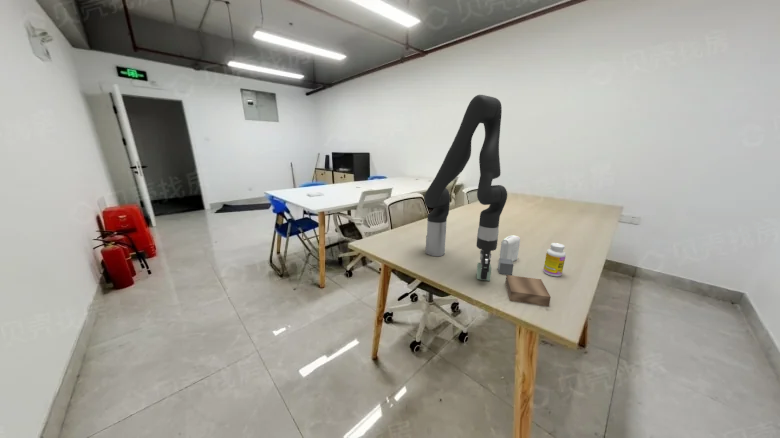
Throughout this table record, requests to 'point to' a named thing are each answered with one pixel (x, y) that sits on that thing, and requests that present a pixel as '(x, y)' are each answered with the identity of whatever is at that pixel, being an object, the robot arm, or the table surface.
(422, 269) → the table surface
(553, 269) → the supplement bottle
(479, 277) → the sage cube
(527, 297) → the walnut block
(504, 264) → the charcoal cube
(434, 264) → the table surface
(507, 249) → the photo printer
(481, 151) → the robot arm
